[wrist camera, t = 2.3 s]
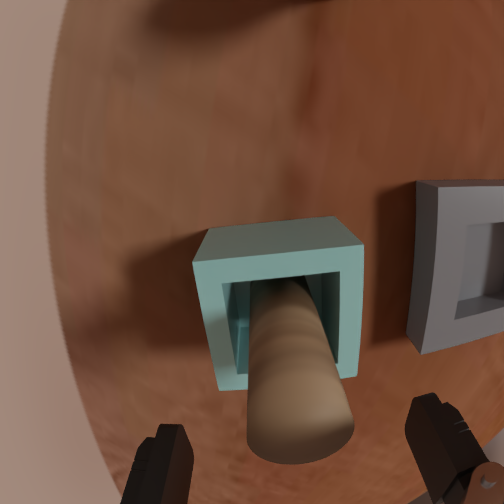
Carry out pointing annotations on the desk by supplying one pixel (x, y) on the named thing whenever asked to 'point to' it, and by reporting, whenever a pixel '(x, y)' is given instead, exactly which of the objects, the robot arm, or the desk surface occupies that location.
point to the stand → (457, 263)
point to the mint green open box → (277, 266)
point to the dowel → (292, 377)
